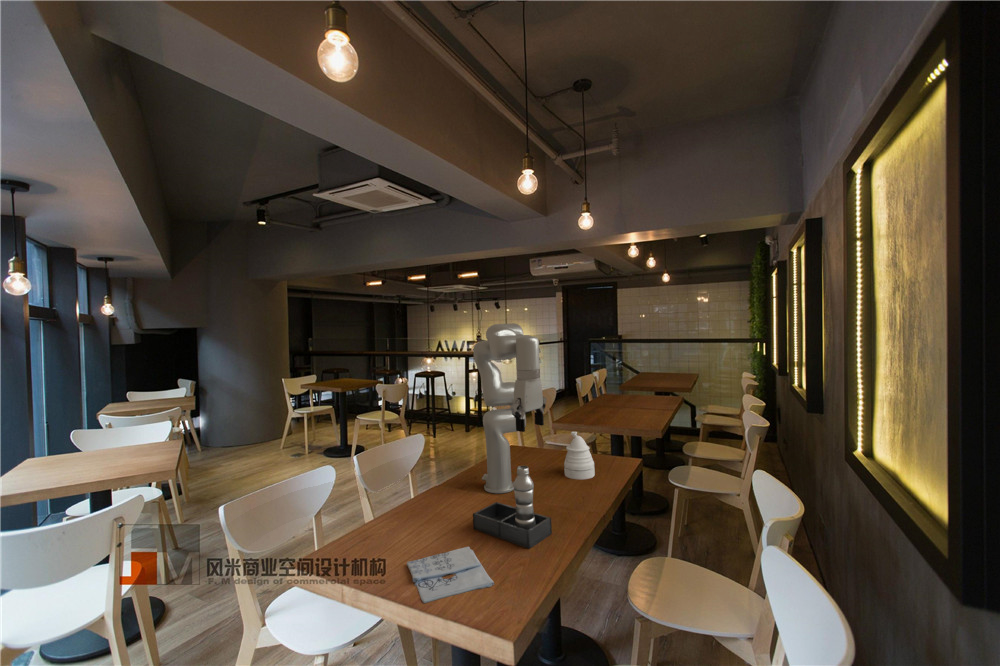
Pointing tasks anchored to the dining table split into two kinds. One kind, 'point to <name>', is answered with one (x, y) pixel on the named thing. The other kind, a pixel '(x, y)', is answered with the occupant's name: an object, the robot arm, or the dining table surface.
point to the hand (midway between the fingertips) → (530, 428)
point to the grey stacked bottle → (524, 499)
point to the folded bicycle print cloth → (437, 566)
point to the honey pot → (578, 460)
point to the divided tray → (510, 525)
